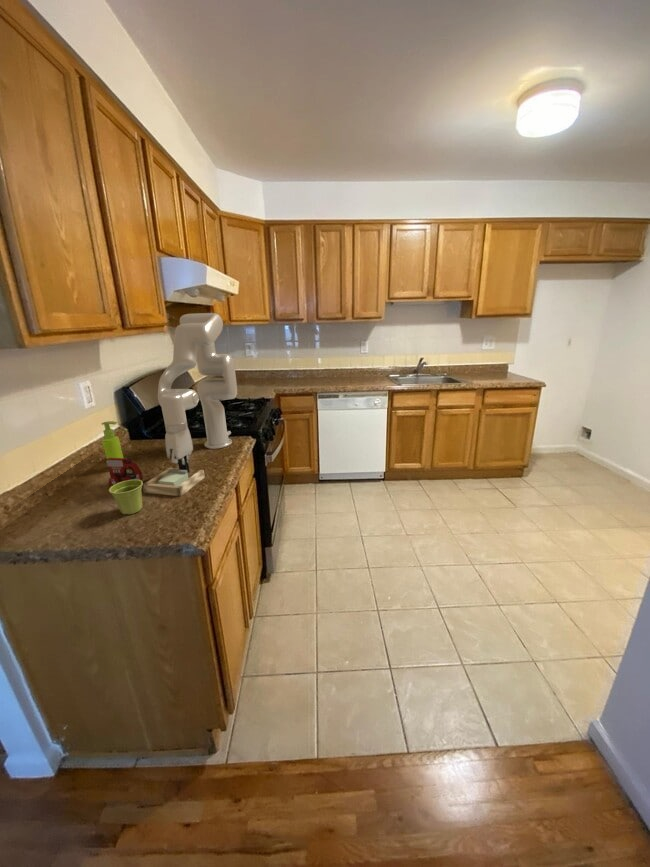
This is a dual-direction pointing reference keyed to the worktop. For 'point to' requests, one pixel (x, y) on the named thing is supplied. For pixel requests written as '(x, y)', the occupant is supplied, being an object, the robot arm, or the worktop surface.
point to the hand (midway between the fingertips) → (184, 472)
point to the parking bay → (157, 488)
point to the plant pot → (128, 495)
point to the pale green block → (174, 477)
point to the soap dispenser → (111, 442)
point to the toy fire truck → (123, 470)
